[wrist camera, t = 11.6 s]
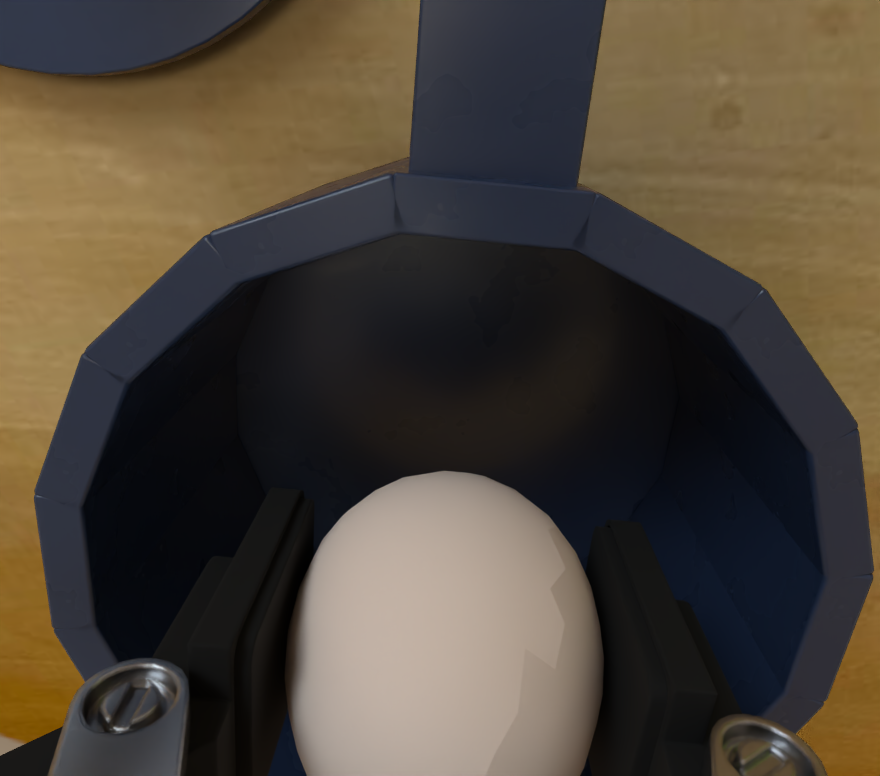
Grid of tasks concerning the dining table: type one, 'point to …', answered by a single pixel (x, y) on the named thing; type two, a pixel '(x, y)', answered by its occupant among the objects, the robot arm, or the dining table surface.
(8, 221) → the dining table surface
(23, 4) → the lid
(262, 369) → the pot
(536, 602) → the egg
